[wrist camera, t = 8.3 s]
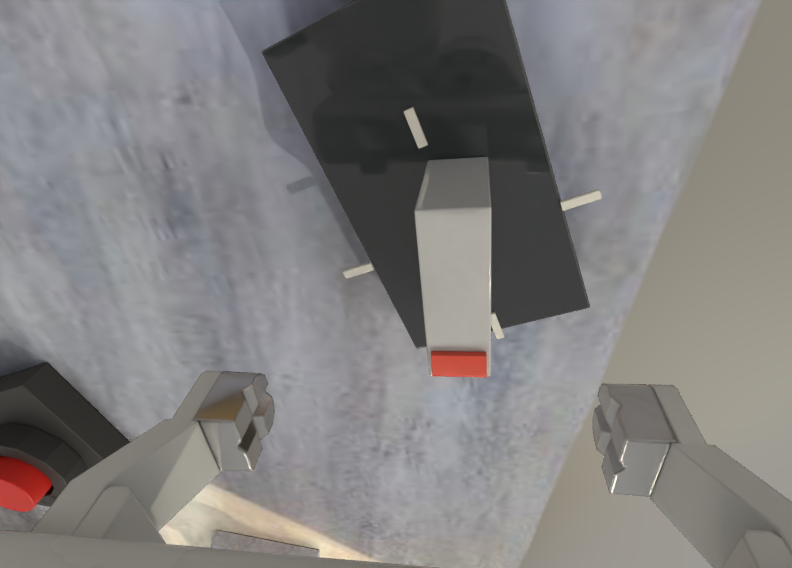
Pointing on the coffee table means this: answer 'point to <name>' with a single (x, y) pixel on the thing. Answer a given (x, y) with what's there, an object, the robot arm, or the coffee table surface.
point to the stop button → (21, 484)
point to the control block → (52, 427)
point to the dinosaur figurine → (258, 545)
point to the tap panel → (433, 143)
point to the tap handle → (456, 265)
